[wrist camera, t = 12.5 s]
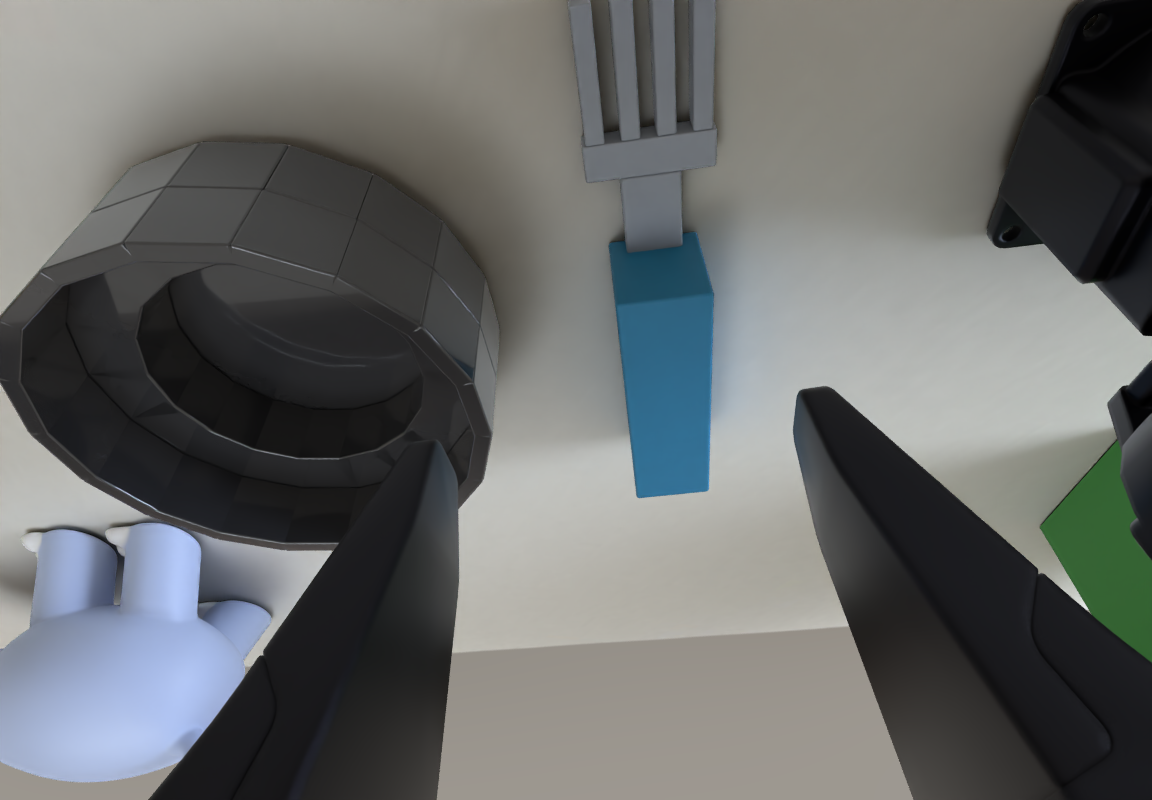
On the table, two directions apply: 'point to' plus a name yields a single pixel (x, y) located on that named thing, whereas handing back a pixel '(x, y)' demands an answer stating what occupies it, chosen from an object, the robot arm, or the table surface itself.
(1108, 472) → the hardback book
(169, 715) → the hippopotamus toy
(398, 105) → the table surface
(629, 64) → the fork
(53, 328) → the dark grey ramekin
